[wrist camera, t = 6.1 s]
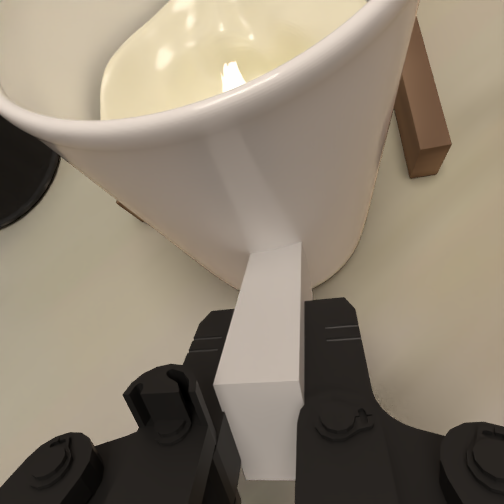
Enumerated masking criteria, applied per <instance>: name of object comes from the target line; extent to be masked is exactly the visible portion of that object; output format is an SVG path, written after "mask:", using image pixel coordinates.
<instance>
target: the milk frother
mask: <svg viewBox="0 0 504 504" xmlns="http://www.w3.org/2000/svg"><path fill="white" fill-rule="evenodd" d="M58 156H59V155H58V154H57V153H55V152H54V151H53V150H51V149H50V148H49V147H47V146H46V145H45V144H43V143H42V142H41V141H39V140H38V139H36V138H35V137H34V136H32V135H30V134H28V133H26V132H24V131H22V130H21V129H19V128H17V127H16V126H14V125H13V124H11V123H10V122H9V121H7V120H6V119H5V118H3V117H2V116H1V115H0V227H3V226H5V225H7V224H9V223H11V222H13V221H14V220H15V219H17V218H18V217H20V216H21V215H23V214H24V213H25V212H27V211H28V210H29V209H30V208H31V207H32V206H33V205H34V204H35V203H36V202H37V201H38V200H39V199H40V197H41V196H42V194H43V193H44V191H45V190H46V188H47V187H48V184H49V183H50V181H51V179H52V176H53V174H54V171H55V169H56V167H57V163H58Z"/></svg>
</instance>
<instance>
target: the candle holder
mask: <svg viewBox="0 0 504 504" xmlns="http://www.w3.org/2000/svg"><path fill="white" fill-rule="evenodd" d="M419 2H420V0H0V115H1V116H2V117H3V118H5V119H6V120H7V121H9V122H10V123H11V124H13V125H14V126H16V127H17V128H19V129H21V130H22V131H24V132H26V133H28V134H30V135H32V136H34V137H35V138H36V139H38V140H39V141H41V142H42V143H43V144H45V145H46V146H47V147H49V148H50V149H51V150H53V151H54V152H55V153H57V154H58V155H59V156H60V157H62V158H63V159H64V160H66V161H67V162H68V163H70V164H71V165H72V166H73V167H75V168H76V169H77V170H79V171H80V172H81V173H83V174H84V175H85V176H86V177H88V178H89V179H90V180H92V181H93V182H94V183H95V184H97V185H98V186H99V187H101V188H102V189H103V190H104V191H106V192H107V193H108V194H110V195H111V196H112V197H113V198H115V199H116V200H117V201H119V202H120V203H121V204H123V205H124V206H125V207H126V208H128V209H129V210H130V211H132V212H133V213H134V214H135V215H137V216H138V217H139V218H141V219H142V220H143V221H144V222H146V223H147V224H148V225H150V226H151V227H152V228H154V229H155V230H156V231H157V232H159V233H160V234H161V235H163V236H164V237H165V238H166V239H168V240H169V241H170V242H172V243H173V244H174V245H175V246H177V247H178V248H179V249H181V250H182V251H183V252H185V253H186V254H187V255H188V256H190V257H191V258H192V259H194V260H195V261H196V262H198V263H199V264H200V265H201V266H203V267H204V268H205V269H207V270H208V271H209V272H211V273H212V274H213V275H215V276H216V277H218V278H219V279H220V280H222V281H223V282H225V283H227V284H228V285H230V286H232V287H234V288H236V289H238V290H240V289H241V285H242V282H243V278H244V275H245V271H246V268H247V264H248V261H249V257H250V254H251V253H258V252H263V251H269V250H274V249H278V248H282V247H286V246H289V245H293V244H296V243H299V242H302V245H303V248H304V251H305V255H306V258H307V261H308V267H309V274H310V280H311V287H312V288H314V287H316V286H318V285H319V284H321V283H323V282H324V281H326V280H327V279H329V278H330V277H332V276H333V275H334V274H335V273H336V272H338V271H339V270H340V269H341V268H342V267H343V265H344V264H345V263H346V262H347V261H348V259H349V258H350V257H351V255H352V254H353V252H354V250H355V249H356V247H357V245H358V243H359V240H360V238H361V235H362V232H363V229H364V226H365V222H366V219H367V215H368V211H369V207H370V203H371V199H372V195H373V191H374V187H375V183H376V179H377V175H378V171H379V167H380V162H381V158H382V154H383V150H384V146H385V142H386V138H387V134H388V129H389V125H390V121H391V117H392V113H393V109H394V105H395V101H396V97H397V92H398V88H399V84H400V80H401V76H402V72H403V68H404V64H405V59H406V55H407V51H408V47H409V43H410V39H411V35H412V31H413V27H414V22H415V18H416V14H417V10H418V6H419Z"/></svg>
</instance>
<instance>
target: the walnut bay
mask: <svg viewBox="0 0 504 504" xmlns="http://www.w3.org/2000/svg"><path fill="white" fill-rule="evenodd" d="M394 110H395V114H396V119H397V123H398V128H399V132H400V137H401V141H402V145H403V150H404V154H405V159H406V163H407V168H408V172H409V176H410V178H416V177H422V176H428V175H434V174H437V173H438V171H439V169H440V167H441V165H442V163H443V161H444V159H445V157H446V155H447V153H448V151H449V149H450V147H451V145H452V143H451V139H450V136H449V132H448V129H447V125H446V121H445V118H444V114H443V111H442V107H441V103H440V100H439V96H438V92H437V89H436V85H435V82H434V78H433V74H432V71H431V67H430V64H429V60H428V56H427V53H426V49H425V45H424V42H423V38H422V35H421V31H420V27H419V24H418V20H417V17H416V18H415V22H414V27H413V31H412V35H411V39H410V43H409V47H408V51H407V55H406V59H405V64H404V68H403V72H402V76H401V80H400V84H399V88H398V92H397V97H396V101H395V105H394ZM116 203H117V204H118V205H119V206H121V207H122V208H124V209H125V210H126V211H128V212H129V213H131V214H132V215H133V216H135V217H136V218H138V219H139V220H140V221H142V222H144V221H143V220H142V219H141V218H139V217H138V216H137V215H135V214H134V213H133V212H132V211H130V210H129V209H128V208H126V207H125V206H124V205H123V204H121V203H120V202H119V201H116Z"/></svg>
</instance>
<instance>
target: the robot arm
mask: <svg viewBox="0 0 504 504" xmlns="http://www.w3.org/2000/svg"><path fill="white" fill-rule="evenodd" d="M123 397H124V399H125V401H126V403H127V405H128V407H129V408H130V410H131V412H132V414H133V416H134V418H135V420H136V422H137V424H138V426H139V428H138V431H137V432H135V433H132V434H130V435H128V436H125V437H122V438H119V439H116V440H113V441H110V442H107V443H104V444H100V445H97V446H94V445H93V443H92V442H91V440H90V438H89V437H87V436H86V435H84V434H83V433H74V432H69V433H66V434H63V435H60V436H57V437H55V438H53V439H51V440H50V441H48V442H46V443H45V444H43V445H41V446H40V447H39V448H38V449H37V450H36V451H35V452H33V453H32V454H31V455H30V456H29V457H28V458H27V459H26V460H25V461H24V462H23V463H22V464H21V465H20V467H19V468H18V469H17V470H16V471H15V472H14V473H13V474H12V475H11V476H10V477H9V479H8V480H7V481H6V482H5V483H4V484H3V485H2V486H1V487H0V504H241V498H240V495H239V492H238V490H237V485H238V479H239V472H240V466H241V467H242V470H243V473H244V476H245V478H246V480H295V504H504V427H503V426H499V425H495V424H490V423H486V422H472V423H463V424H461V425H459V426H457V427H455V428H452V429H450V430H449V432H448V433H447V434H446V436H442V435H439V434H435V433H431V432H427V431H423V430H420V429H416V428H413V427H410V426H408V425H405V424H402V423H401V422H399V421H397V420H396V419H394V418H392V417H391V416H390V415H388V414H387V413H386V412H385V411H384V410H383V409H382V408H381V407H380V405H379V404H378V402H377V401H376V400H375V397H374V395H373V392H372V388H371V383H370V379H369V374H368V369H367V364H366V359H365V354H364V350H363V345H362V340H361V335H360V330H359V326H358V321H357V316H356V311H355V308H354V307H353V306H352V305H351V304H350V303H349V302H348V301H347V300H346V299H345V298H344V297H343V298H332V299H321V300H313V293H312V287H311V280H310V274H309V267H308V261H307V258H306V255H305V251H304V248H303V245H302V242H299V243H296V244H293V245H289V246H286V247H282V248H278V249H274V250H269V251H263V252H258V253H251V254H250V257H249V261H248V264H247V268H246V271H245V275H244V278H243V282H242V285H241V289H240V292H239V296H238V299H237V303H236V306H235V309H228V310H218V311H211V312H210V313H209V314H208V315H207V316H206V318H205V319H204V320H203V321H202V322H201V323H200V324H199V326H198V329H197V331H196V334H195V336H194V341H192V344H191V346H190V349H189V353H187V356H186V358H185V361H184V363H183V365H176V364H169V365H164V366H159V367H156V368H154V369H152V370H150V371H148V372H146V373H144V374H142V375H141V376H140V377H139V378H137V379H136V380H135V381H133V382H132V383H131V384H130V386H129V387H128V388H127V390H126V391H125V392H124V394H123Z"/></svg>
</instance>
